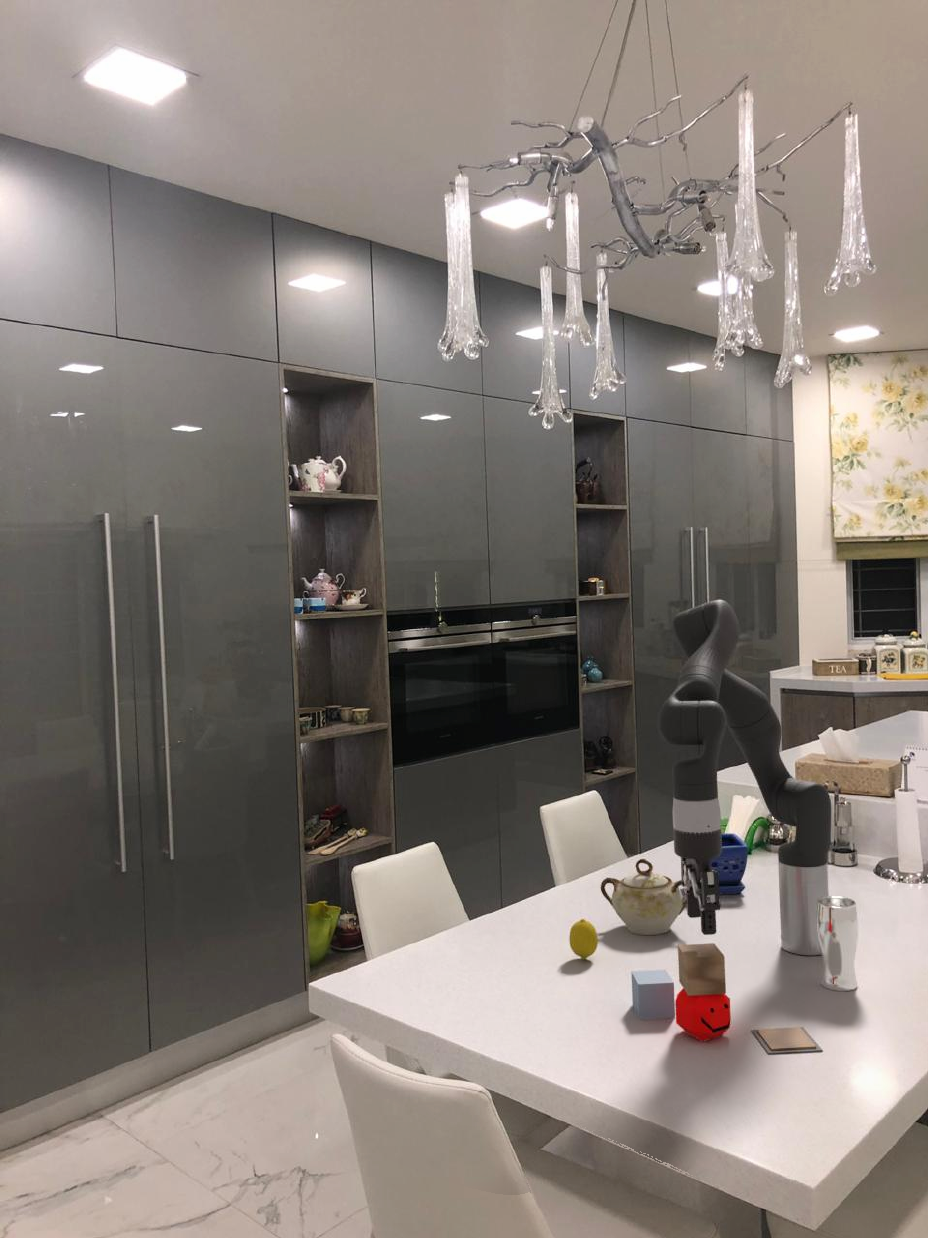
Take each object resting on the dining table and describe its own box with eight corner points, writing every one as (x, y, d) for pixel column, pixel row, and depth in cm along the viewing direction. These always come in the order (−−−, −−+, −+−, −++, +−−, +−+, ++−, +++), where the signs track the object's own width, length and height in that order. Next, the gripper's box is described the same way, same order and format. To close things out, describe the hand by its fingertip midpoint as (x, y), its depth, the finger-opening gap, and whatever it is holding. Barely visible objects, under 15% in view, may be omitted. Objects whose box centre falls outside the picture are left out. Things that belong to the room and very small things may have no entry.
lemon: (597, 965, 196) (595, 924, 195) (568, 964, 197) (567, 923, 197) (599, 955, 201) (597, 915, 201) (571, 954, 202) (570, 914, 202)
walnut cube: (715, 979, 166) (714, 943, 166) (725, 993, 160) (724, 956, 160) (679, 981, 166) (677, 945, 166) (688, 995, 160) (686, 958, 160)
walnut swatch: (802, 1028, 164) (802, 1025, 164) (822, 1051, 156) (822, 1048, 156) (751, 1031, 164) (751, 1028, 164) (768, 1054, 155) (768, 1051, 155)
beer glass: (859, 979, 183) (856, 897, 183) (860, 994, 177) (858, 908, 176) (818, 976, 186) (815, 894, 185) (818, 990, 179) (815, 906, 179)
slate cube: (666, 1004, 176) (665, 969, 176) (675, 1018, 170) (673, 982, 170) (632, 1005, 176) (631, 971, 176) (639, 1020, 170) (638, 984, 170)
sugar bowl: (594, 937, 212) (591, 865, 211) (609, 915, 226) (606, 848, 225) (690, 944, 205) (687, 870, 205) (699, 921, 219) (696, 852, 219)
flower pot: (751, 896, 235) (749, 845, 235) (694, 898, 235) (692, 847, 235) (737, 880, 248) (735, 832, 248) (683, 882, 249) (681, 834, 248)
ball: (701, 1049, 158) (699, 1001, 158) (668, 1031, 165) (666, 985, 165) (740, 1037, 162) (738, 990, 161) (706, 1020, 169) (704, 974, 168)
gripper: (733, 834, 155) (738, 938, 156) (707, 814, 170) (712, 910, 170) (684, 837, 155) (689, 942, 155) (663, 816, 169) (667, 913, 170)
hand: (701, 925), depth 163 cm, fingers open, 8 cm apart
